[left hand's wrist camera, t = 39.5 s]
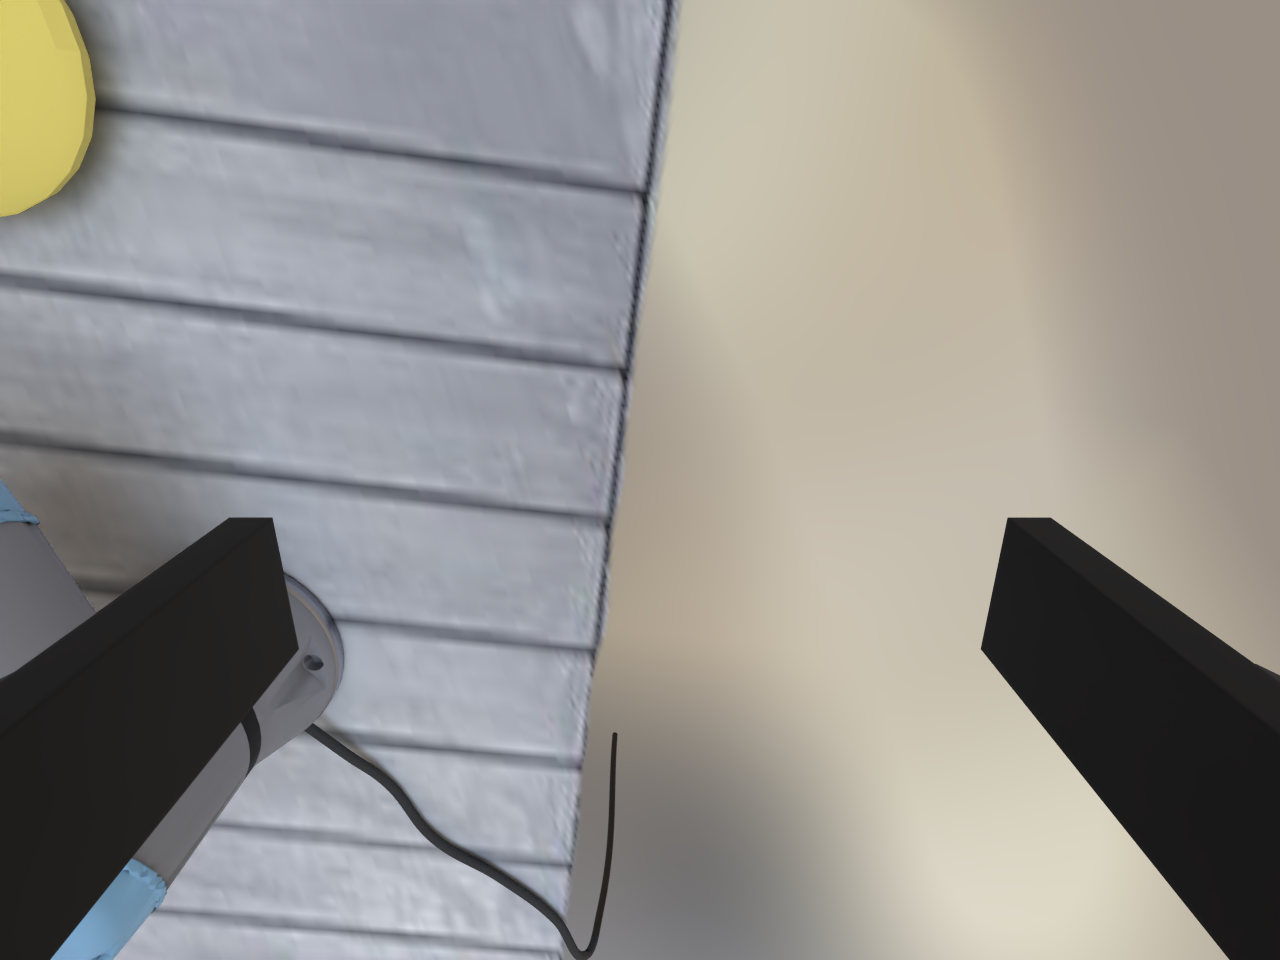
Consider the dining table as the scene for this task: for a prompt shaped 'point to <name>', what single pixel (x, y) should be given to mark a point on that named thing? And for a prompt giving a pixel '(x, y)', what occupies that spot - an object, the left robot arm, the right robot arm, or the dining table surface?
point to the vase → (41, 101)
